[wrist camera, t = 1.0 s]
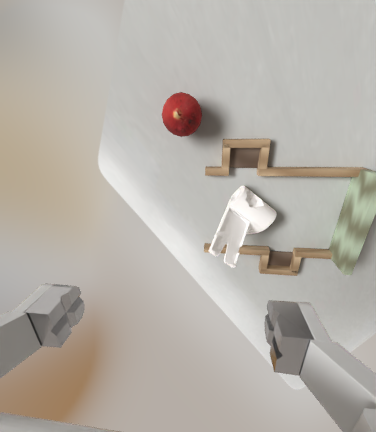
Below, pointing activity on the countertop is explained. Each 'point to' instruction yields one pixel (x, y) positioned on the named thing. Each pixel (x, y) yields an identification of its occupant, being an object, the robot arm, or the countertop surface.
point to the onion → (181, 114)
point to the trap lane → (258, 158)
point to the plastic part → (240, 223)
